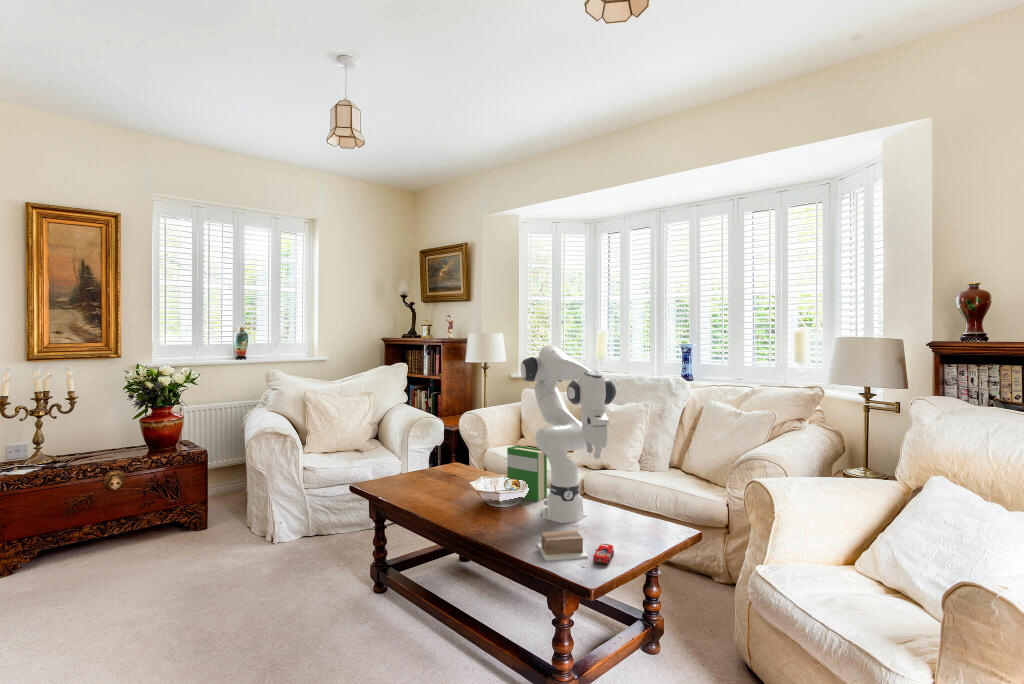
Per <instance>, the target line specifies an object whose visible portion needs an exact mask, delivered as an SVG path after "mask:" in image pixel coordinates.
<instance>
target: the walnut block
mask: <svg viewBox="0 0 1024 684" xmlns="http://www.w3.org/2000/svg"><path fill="white" fill-rule="evenodd" d="M540 541H541V542H540V543H541V546H542V548H543V550H544V552H545V553H546V555H554V554H569V553H583V549H584V546H583V545H584V538H583V536H582V535H581V534H580V533H579V532H578V530H577V529H576V530H575V529H572V530H556V531H542V532H541V540H540Z"/></svg>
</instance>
